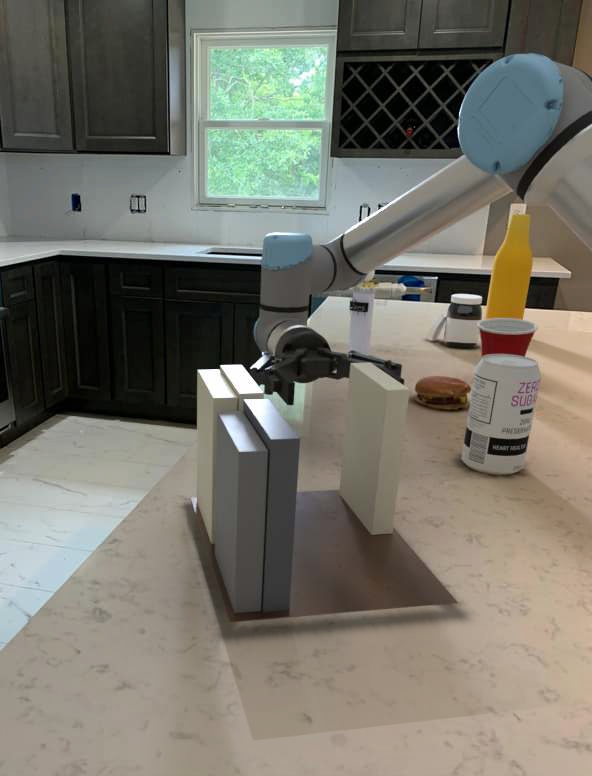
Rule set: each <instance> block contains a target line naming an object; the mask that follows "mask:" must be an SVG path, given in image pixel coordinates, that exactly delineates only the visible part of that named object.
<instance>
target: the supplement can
mask: <svg viewBox="0 0 592 776" xmlns="http://www.w3.org/2000/svg"><path fill="white" fill-rule="evenodd" d="M541 378H542V373H541V370H540V367H539V361H538V360H537V359H534V358H531V357H528V356H525V357H524V356H519V355H511V354H489V355H485V356H483V357H482V360H480V361H479V362H478V363H477V365H476V366H475V368H474V376H473V382H472V387H471V393H470V401H469V407H468V413H467V420H466V427H465V434H464V440H463V444H462V445H463V447H462V453H461V460H462V462H463V463H464V464H465V465H466V466H467V467H468V468H470V469H471V470H474V471H477V472H480V473H483V474H488V475H498V476H506V475H513V474H516V473H517V472H520V471H521V470H523V469H524V467H525V461H526V456H527V451H528V446H529V442H530V441H529V440H530V435H531V430H532V425H533V420H534V415H535V410H536V405H537V399H538V393H539V389H540V384H541V380H542V379H541Z"/></svg>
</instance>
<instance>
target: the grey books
mask: <svg viewBox="0 0 592 776" xmlns="http://www.w3.org/2000/svg"><path fill="white" fill-rule="evenodd" d="M300 445H301V438H300V436H299V435H298V434H297V432H296V431H295V430H294V429H293V427H292V426H291V425H290V424H289V422H288V420H286V419H285V417H284V416H283V415H282V413H280V411H279V410H278V408H276V406H275V405H274V404H273V402H272V401H271V400H270V399H269V398H264V399H249V400H244V402H243V411H222V412H217V446H216V511H215V557H216V560H217V563H218V566H219V569H220V572H221V575H222V578H223V581H224V584H225V587H226V590H227V593H228V596H229V599H230V602H231V605H232V608H233V611H234V613H245V612H257V611H261V609H262V611H263V612H273V611H285V610H289V609H290V593H291V577H292V561H293V545H294V529H295V513H296V497H297V492H298V481H299V480H298V479H299V462H300V447H301V446H300Z"/></svg>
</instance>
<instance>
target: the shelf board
mask: <svg viewBox="0 0 592 776" xmlns="http://www.w3.org/2000/svg"><path fill="white" fill-rule="evenodd" d="M339 490H340V489H326V490H324V489H323V490H309V491H297V497H296V513H295V529H294V545H293V561H292V577H291V593H290V609H289V610H285V611H273V612H263V611H262V609H261V611H257V612H245V613H234V611H233V608H232V605H231V602H230V599H229V596H228V593H227V590H226V587H225V584H224V581H223V578H222V575H221V572H220V569H219V566H218V563H217V560H216V557H215V544H211V542H210V539H209V536H208V533H207V530H206V527H205V524H204V521H203V518H202V515H201V512H200V509H199V506H198V503H197V496H196V497H189V499H190V503H191V506H192V509H193V512H194V515H195V518H196V521H197V525H198V529H199V532H200V535H201V537H202V540H203V545H204V547H205V550H206V553H207V556H208V559H209V562H210V566H211V569H212V572H213V575H214V579H215V581H216V584H217V587H218V588H217V589H218V591H219V594H220V597H221V600H222V604H223V607H224V610H225V613H226V616H227V619H228V622H229V623H240V622H252V621H263V620H264V621H265V620H276V619H277V620H278V619H286V618H297V617H308V616H309V617H311V616H322V615H334V614H335V615H336V614H344V613H345V614H347V613H357V612H367V611H369V612H370V611H379V610H381V611H382V610H391V609H392V610H393V609H404V608H416V607H428V606H439V605H451V604H458V602H459V601H457V599H456V598H455V597H454V596H453V595H452V594H451V593H450V591H449V590H448V589H447V588H446V587H445V585H444V584H443V583H442V582H441V581H440V580H439V578H438V577H437V576H436V575H435V574H434V572H432V570H431V569H430V567H428V565H426V563H425V562H424V561H423V560H422V559H421V557H419V555H418V553H416V552H415V551H414V550H413V547H411V546H410V545H409V544H408V543H407V541H406V540H405V539H404V538H403V536H401V534H400V533H399V532H398V531H397V529H396V528H395V527H394V526H393V532H392V534H379V535H371V534H370V533H369V531H368V530H367V529H366V527H365V526H364V525H363V524H362V522H361V521H360V520H359V518H358V517H357V516H356V515H355V513H354V512H353V511H352V509H351V508H350V507H349V506H348V504H347V503H346V502H345V500H344V499H343V498H342V497H341V495H340V494H339Z"/></svg>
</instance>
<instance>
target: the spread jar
mask: <svg viewBox="0 0 592 776" xmlns="http://www.w3.org/2000/svg"><path fill="white" fill-rule="evenodd" d="M482 301H483V297H482V295H478V294H469V293H454V294H452V295H451V298H450V302H451V303H450V304H449V305H448V309H447V311H446V314H444V313H440V314H439V315H437V317H436V319H435V320H434V321H433V323H432V325H431V326H430V327H429V328H430V329H429V331H428V334H427V340H429V341H430V342H435V341H437V340H438V338H439V337H440V336H441V335H442V334H443V345H444V346H446V347H448V348H452V349H453V348H454V349H461V350H462V349H463V350H469V349H470V350H471V349H475V348H476V347H478V343H479V339H480V330H479V328H478V326H477V323H478V322H480V321H482V320H483V319H482V318H483V308H482V305H481V304H482V303H483V302H482Z"/></svg>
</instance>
